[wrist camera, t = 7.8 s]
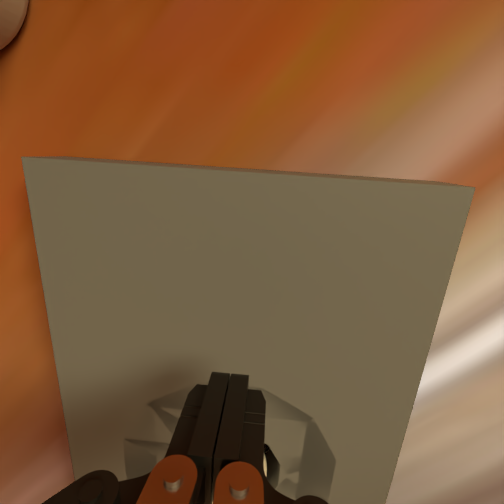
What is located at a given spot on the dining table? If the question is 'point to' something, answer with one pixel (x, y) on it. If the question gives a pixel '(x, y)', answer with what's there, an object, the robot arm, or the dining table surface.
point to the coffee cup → (11, 19)
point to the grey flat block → (243, 308)
